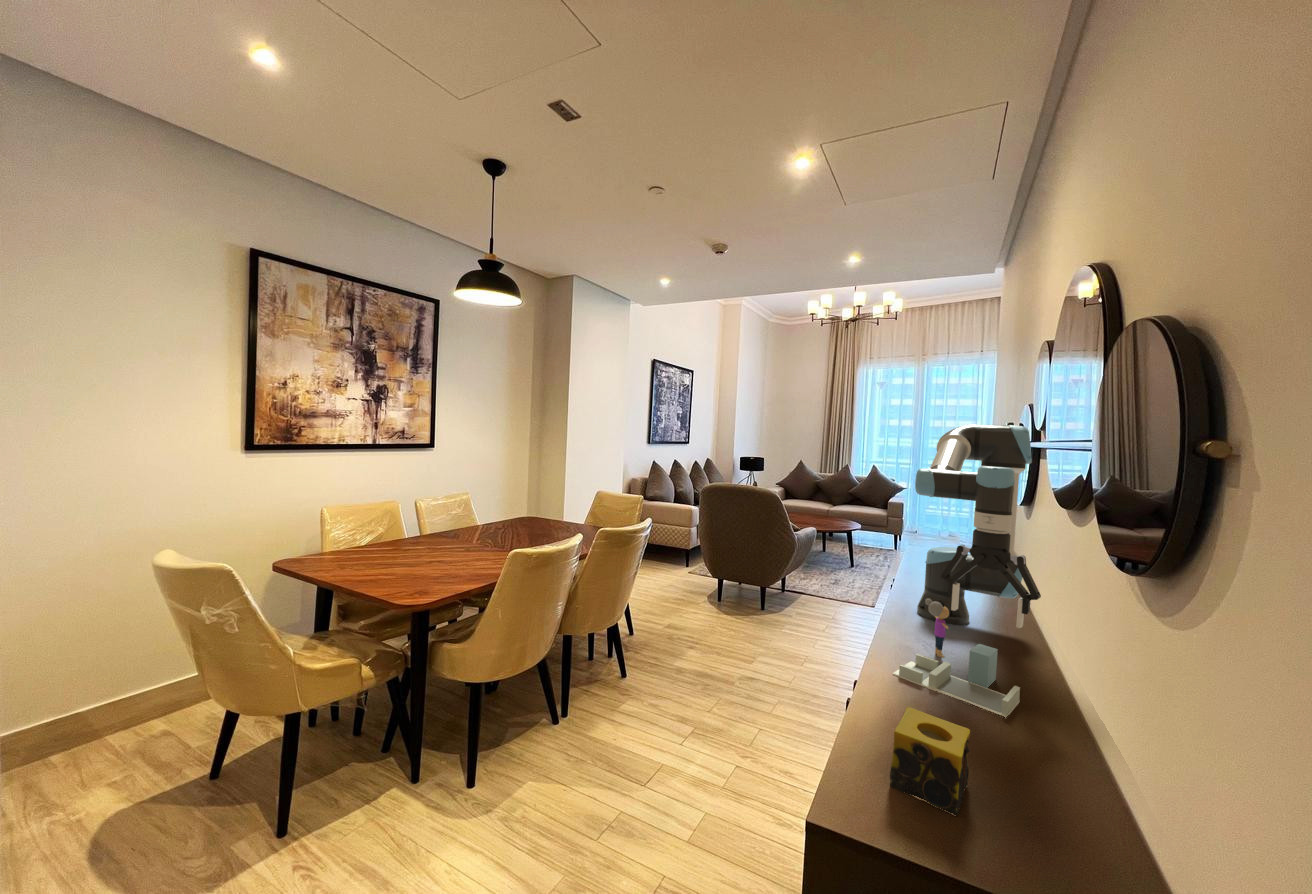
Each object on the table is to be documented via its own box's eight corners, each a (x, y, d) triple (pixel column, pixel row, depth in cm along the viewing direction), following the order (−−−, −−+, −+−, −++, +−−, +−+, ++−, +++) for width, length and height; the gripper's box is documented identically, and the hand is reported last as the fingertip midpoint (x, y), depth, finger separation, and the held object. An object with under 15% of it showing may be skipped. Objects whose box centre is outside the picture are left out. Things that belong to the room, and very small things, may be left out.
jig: (910, 663, 130) (911, 649, 130) (1019, 702, 113) (1020, 686, 113) (892, 675, 123) (893, 661, 123) (1006, 719, 106) (1007, 702, 105)
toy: (953, 665, 131) (956, 608, 130) (930, 662, 132) (933, 605, 131) (938, 648, 141) (942, 595, 140) (917, 646, 142) (921, 593, 141)
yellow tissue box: (903, 759, 91) (906, 705, 90) (968, 786, 84) (972, 728, 84) (887, 788, 83) (891, 729, 82) (958, 821, 76) (962, 756, 76)
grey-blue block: (976, 675, 126) (978, 643, 126) (995, 681, 123) (997, 649, 123) (967, 683, 121) (969, 650, 121) (986, 690, 118) (989, 656, 118)
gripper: (930, 523, 128) (924, 605, 128) (1053, 542, 109) (1046, 638, 110) (941, 521, 133) (935, 600, 133) (1060, 538, 114) (1053, 631, 115)
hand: (985, 617), depth 121 cm, fingers open, 13 cm apart
